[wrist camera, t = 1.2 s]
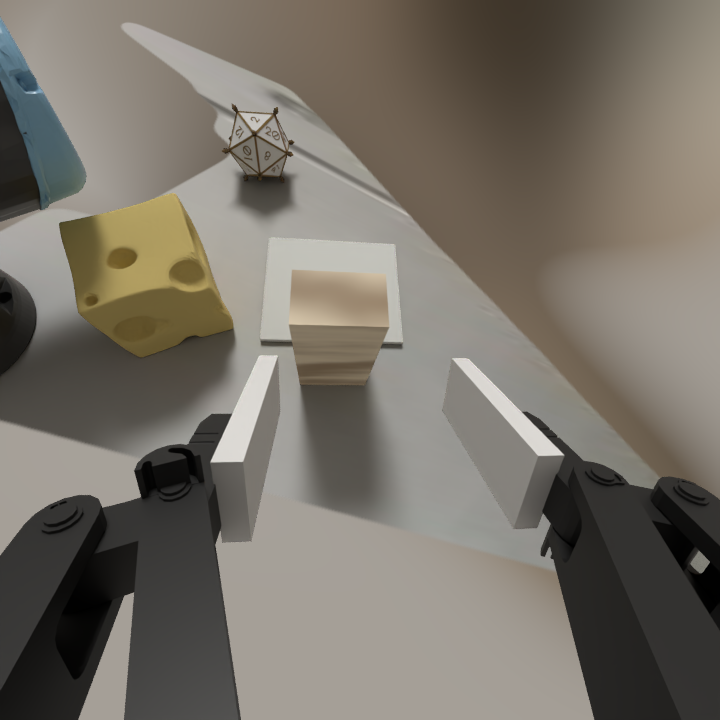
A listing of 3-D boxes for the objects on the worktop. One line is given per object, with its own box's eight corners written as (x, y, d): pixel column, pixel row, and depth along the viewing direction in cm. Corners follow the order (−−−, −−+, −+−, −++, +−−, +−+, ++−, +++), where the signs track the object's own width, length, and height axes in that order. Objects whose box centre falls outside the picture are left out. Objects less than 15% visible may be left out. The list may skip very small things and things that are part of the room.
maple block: (364, 385, 36) (389, 327, 23) (300, 384, 36) (288, 324, 23) (363, 347, 38) (385, 273, 25) (301, 346, 37) (291, 269, 24)
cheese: (237, 329, 37) (209, 276, 28) (134, 364, 35) (66, 317, 25) (210, 258, 40) (177, 188, 31) (113, 284, 38) (46, 217, 28)
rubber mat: (401, 344, 39) (402, 342, 38) (260, 341, 37) (259, 339, 36) (394, 247, 44) (394, 244, 43) (269, 240, 42) (269, 237, 41)
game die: (277, 188, 50) (310, 122, 45) (273, 213, 45) (310, 142, 39) (216, 149, 46) (245, 72, 40) (204, 172, 40) (235, 85, 35)
